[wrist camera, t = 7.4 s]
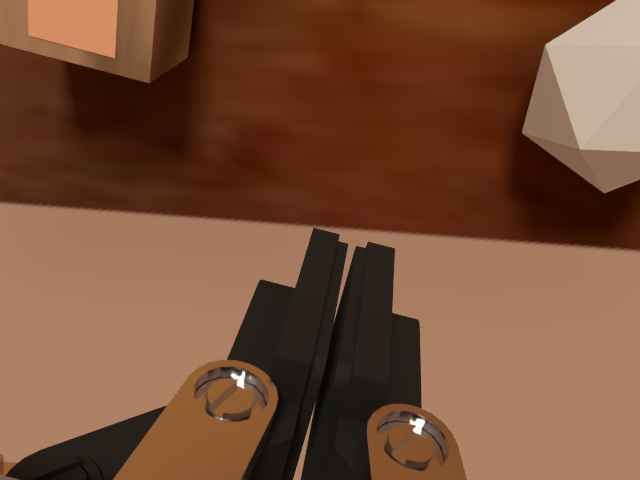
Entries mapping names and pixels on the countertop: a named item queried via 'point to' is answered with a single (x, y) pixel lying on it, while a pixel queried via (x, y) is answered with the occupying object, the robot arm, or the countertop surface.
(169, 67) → the block
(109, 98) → the countertop surface
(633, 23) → the die
